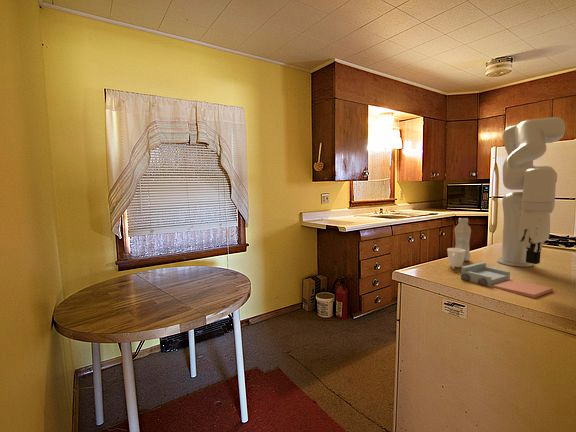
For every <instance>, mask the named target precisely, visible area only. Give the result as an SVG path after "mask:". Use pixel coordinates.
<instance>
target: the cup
mask: <svg viewBox="0 0 576 432" xmlns="http://www.w3.org/2000/svg"><path fill="white" fill-rule="evenodd" d="M446 251H447V256H448V257H447V258H448V263H449V266H450V267H451V269H452V270H455V269H456V268H461V267H463V265H464V262H463V261H464V257H465V252H466V251H465V250H464V249H460V248H455V247H449V248H447V249H446Z"/></svg>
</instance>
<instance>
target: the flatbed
mask: <svg viewBox="0 0 576 432" xmlns="http://www.w3.org/2000/svg"><path fill="white" fill-rule="evenodd" d="M486 265H487V263H486V262H483V261H481V262H477V263H472V264H468V265H462V266H461V267H460V268H461V269H460V271H461V273H460V279H461V280H463V281H466V282H471V283H475V284H478V285H480V286H483V287H490V288H494V287H493V285H495V284H499V283H502V282H505V281H509V280H511V271H509V270H504V269H499V268H495V267H492V266H491V267H490V266H488V265H487V266H486Z"/></svg>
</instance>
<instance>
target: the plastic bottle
mask: <svg viewBox="0 0 576 432" xmlns="http://www.w3.org/2000/svg"><path fill="white" fill-rule="evenodd" d="M457 221H458V224H457V225H456V226H455V227H454V236H455V237H454V238H455V246H454V248H460V249H464V250H465V251H466V252H465V257H464V261H463V263H465V262H469V261H470V260H471V252H470V239H471V233H472V229H471V226H470V225H469V224H468V223H469V218H468V217H459V218H458V220H457Z"/></svg>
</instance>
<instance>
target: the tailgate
mask: <svg viewBox="0 0 576 432" xmlns="http://www.w3.org/2000/svg"><path fill="white" fill-rule="evenodd" d="M492 288H495V289H498V290H499V289H500V290H501V291H507V292H510V293H513V294H517V295H519V296H525V297H528V298H533V299H534V298H538V297H541V296H544V295H546V294H548V293H551V292H553V291H554V288H553V287H551V286H547V285H546V286H545V285H540V284H535V283H531V282H526V281H525V282H524V281H519V280H515V279H510V280H509V281H505V282H502V283H499V284H495V285H493V287H492Z"/></svg>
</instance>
